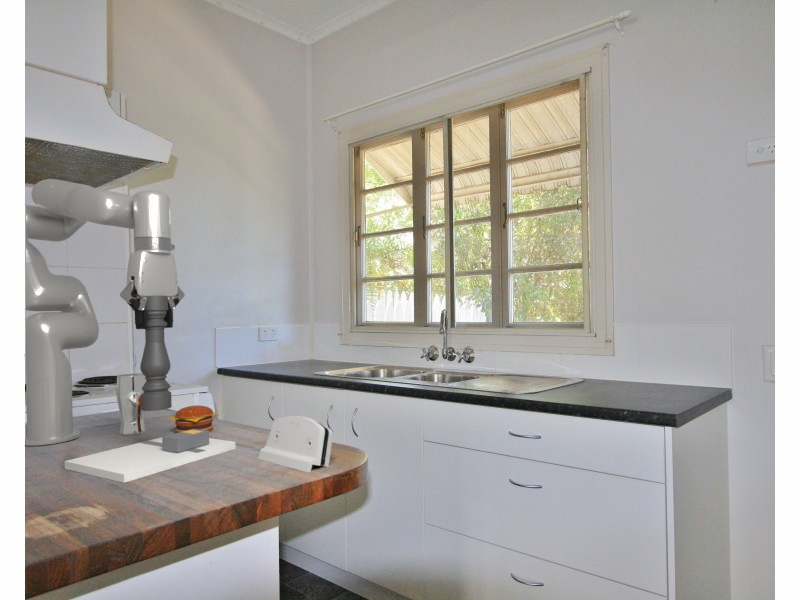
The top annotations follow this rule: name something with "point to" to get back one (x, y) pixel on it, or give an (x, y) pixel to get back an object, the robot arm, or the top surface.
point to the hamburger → (194, 418)
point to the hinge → (298, 443)
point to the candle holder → (155, 357)
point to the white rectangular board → (142, 459)
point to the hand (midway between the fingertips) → (154, 327)
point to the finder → (185, 440)
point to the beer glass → (130, 403)
